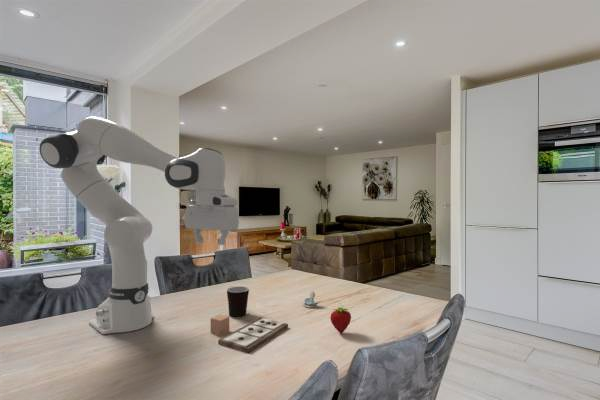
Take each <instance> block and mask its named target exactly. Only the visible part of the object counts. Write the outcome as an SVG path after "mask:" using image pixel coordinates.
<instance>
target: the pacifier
mask: <svg viewBox="0 0 600 400" xmlns="http://www.w3.org/2000/svg"><path fill="white" fill-rule="evenodd" d="M315 297H316V294H315V291H314V290H311V291H310V293H309V297H306V298H305V299H304V302H303V303H302V306H303V307H304V308H307V309H312V308H314V307H315V305H318V304H319V302H315V299H314V298H315Z"/></svg>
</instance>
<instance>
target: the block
mask: <svg viewBox="0 0 600 400" xmlns="http://www.w3.org/2000/svg"><path fill="white" fill-rule="evenodd" d="M228 332H230V316H228V315H224V314H221V313H220V314H218V315H214V316H212V317H210V334H213V335H217V336H219V337H220V336H222V335H224V334H226V333H228Z"/></svg>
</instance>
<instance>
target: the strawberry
mask: <svg viewBox="0 0 600 400" xmlns="http://www.w3.org/2000/svg"><path fill="white" fill-rule="evenodd" d="M339 303H340V305H341V307H340V306H337V307H338V308H337V309H333V311H332V313H330V318H329V319H330V322H331V324H332V325H333V327H334V328H335V329H336V331H337V332H338V333H339V334H343V333H344V332H345V330H346V329H348V326H349V325H350V323H351V319H352V315H351V312H350V311H349V308H344V306H343V305H342V303H341V302H339Z"/></svg>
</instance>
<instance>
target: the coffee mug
mask: <svg viewBox="0 0 600 400" xmlns="http://www.w3.org/2000/svg"><path fill="white" fill-rule="evenodd" d="M249 292H250V288H249V287H247V286H243V285H242V286H239V285H238V286H231V287H228V288H227V289H226V297H227V304H228V314H229V318H230V317H231V318H234V319H237V318H238V319H239V318H245V316H246V315H247V308H248V299H249V294H250V293H249Z"/></svg>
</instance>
